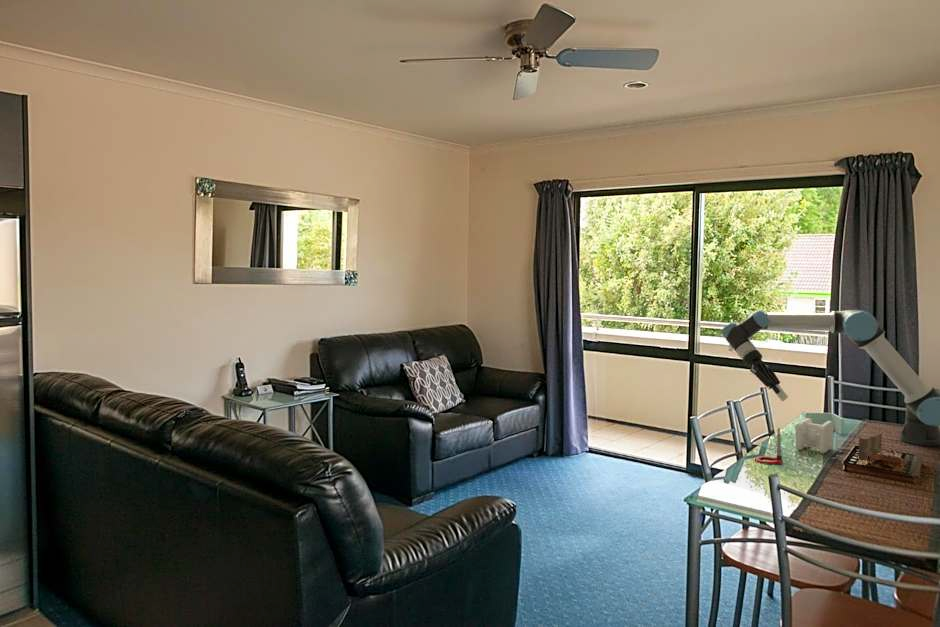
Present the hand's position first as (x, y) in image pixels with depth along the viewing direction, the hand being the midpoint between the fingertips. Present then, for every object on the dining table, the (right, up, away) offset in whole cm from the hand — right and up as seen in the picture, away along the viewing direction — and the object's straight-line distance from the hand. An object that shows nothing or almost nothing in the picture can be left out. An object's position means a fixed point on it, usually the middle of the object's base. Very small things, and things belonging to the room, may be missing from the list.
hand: (785, 399), depth 281 cm
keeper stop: (+17, -20, -21) cm, 34 cm away
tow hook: (-18, -21, -25) cm, 37 cm away
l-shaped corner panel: (+28, -18, +24) cm, 41 cm away
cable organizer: (+7, -20, -8) cm, 23 cm away
